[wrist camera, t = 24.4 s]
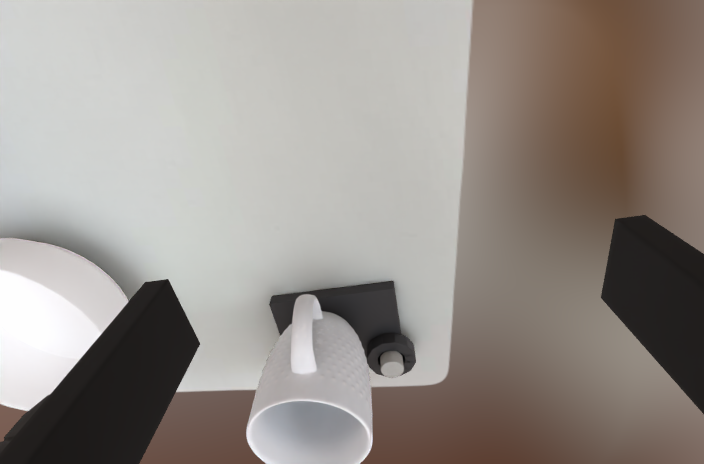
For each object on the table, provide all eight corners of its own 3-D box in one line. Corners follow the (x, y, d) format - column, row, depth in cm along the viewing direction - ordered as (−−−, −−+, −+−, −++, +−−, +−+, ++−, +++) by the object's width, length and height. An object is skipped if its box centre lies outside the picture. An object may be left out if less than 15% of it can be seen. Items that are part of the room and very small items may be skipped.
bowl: (-54, 210, 39) (-153, 254, 31) (138, 224, 39) (85, 270, 31) (16, 348, 48) (-47, 407, 41) (170, 359, 48) (135, 419, 41)
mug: (258, 269, 39) (217, 368, 28) (363, 261, 39) (364, 360, 27) (284, 368, 47) (260, 479, 35) (373, 363, 46) (377, 475, 34)
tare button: (401, 348, 43) (402, 360, 41) (403, 364, 44) (405, 376, 43) (378, 351, 43) (379, 363, 42) (381, 366, 44) (382, 379, 43)
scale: (404, 279, 41) (407, 296, 39) (414, 355, 47) (417, 374, 44) (271, 296, 43) (265, 313, 40) (296, 367, 48) (292, 387, 46)
